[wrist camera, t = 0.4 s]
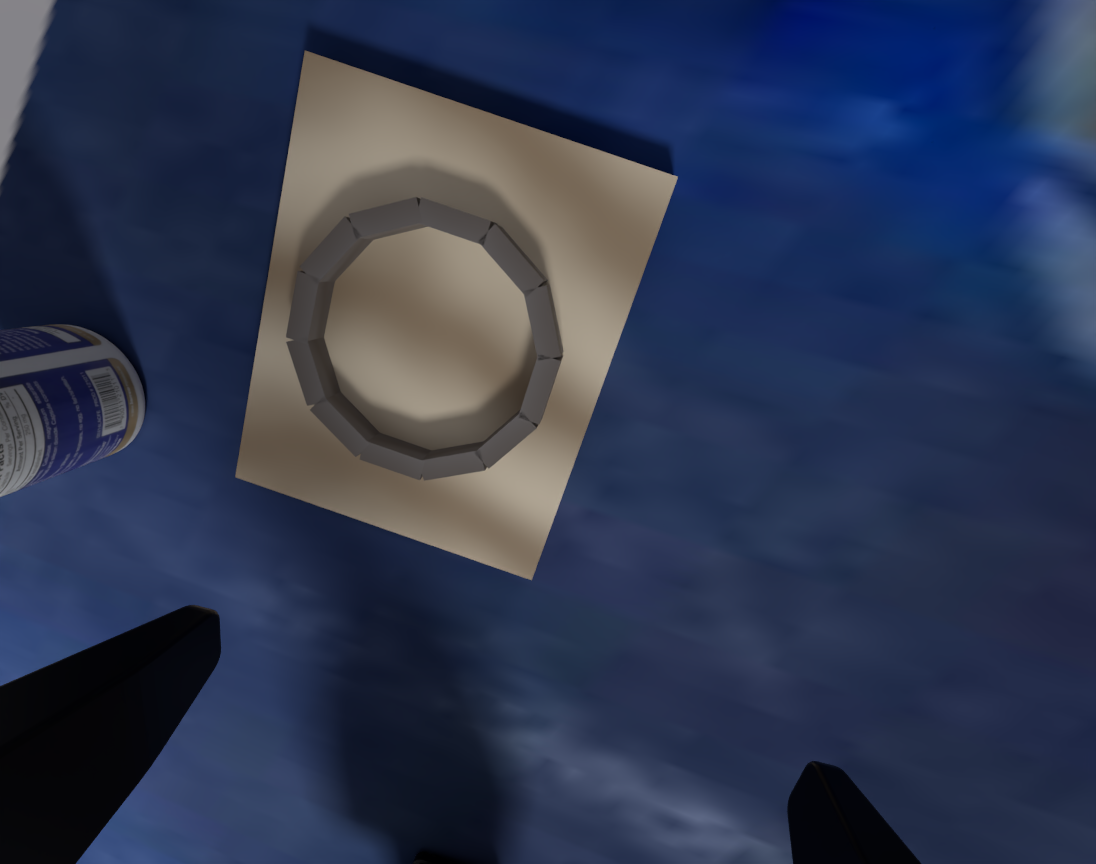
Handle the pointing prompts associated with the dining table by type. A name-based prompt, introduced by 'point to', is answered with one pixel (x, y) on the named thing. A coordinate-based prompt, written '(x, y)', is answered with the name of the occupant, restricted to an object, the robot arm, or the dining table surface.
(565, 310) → the collar board
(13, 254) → the dining table surface
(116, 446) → the pill bottle
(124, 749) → the robot arm
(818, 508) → the dining table surface
